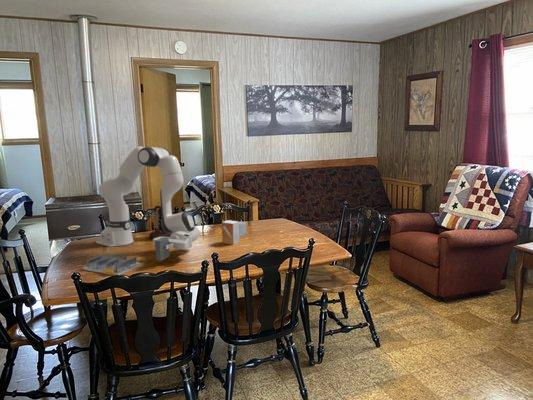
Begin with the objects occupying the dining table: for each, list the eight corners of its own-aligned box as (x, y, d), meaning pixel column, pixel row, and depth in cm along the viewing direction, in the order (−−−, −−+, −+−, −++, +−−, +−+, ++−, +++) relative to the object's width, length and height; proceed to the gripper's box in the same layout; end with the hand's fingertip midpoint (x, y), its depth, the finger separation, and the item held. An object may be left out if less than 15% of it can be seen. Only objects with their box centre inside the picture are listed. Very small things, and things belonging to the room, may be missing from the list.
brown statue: (145, 236, 253) (143, 206, 249) (167, 233, 261) (166, 203, 258) (154, 241, 241) (152, 209, 238) (177, 237, 250) (175, 206, 246)
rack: (81, 270, 193) (81, 261, 192) (107, 259, 208) (107, 251, 207) (116, 276, 184) (116, 267, 184) (141, 265, 199) (140, 256, 199)
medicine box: (241, 234, 257) (241, 221, 256) (246, 235, 254) (246, 222, 253) (233, 236, 251) (232, 223, 250) (238, 237, 248) (238, 224, 247)
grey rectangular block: (156, 260, 198) (154, 240, 196) (164, 255, 205) (163, 237, 203) (160, 260, 197) (159, 241, 195) (169, 256, 203) (168, 237, 202)
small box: (222, 243, 237) (221, 222, 234) (228, 240, 242) (227, 219, 240) (233, 245, 233) (232, 223, 230) (239, 242, 238) (238, 221, 236)
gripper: (162, 232, 215) (144, 238, 203) (193, 236, 207) (178, 243, 195) (162, 243, 217) (145, 250, 204) (194, 247, 209) (178, 255, 196)
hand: (161, 247), depth 199 cm, fingers closed on grey rectangular block, 3 cm apart
